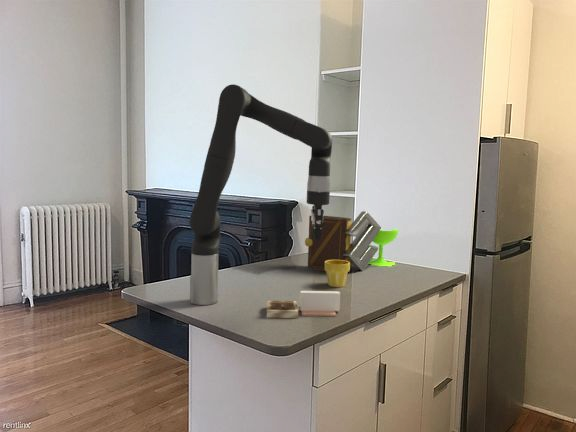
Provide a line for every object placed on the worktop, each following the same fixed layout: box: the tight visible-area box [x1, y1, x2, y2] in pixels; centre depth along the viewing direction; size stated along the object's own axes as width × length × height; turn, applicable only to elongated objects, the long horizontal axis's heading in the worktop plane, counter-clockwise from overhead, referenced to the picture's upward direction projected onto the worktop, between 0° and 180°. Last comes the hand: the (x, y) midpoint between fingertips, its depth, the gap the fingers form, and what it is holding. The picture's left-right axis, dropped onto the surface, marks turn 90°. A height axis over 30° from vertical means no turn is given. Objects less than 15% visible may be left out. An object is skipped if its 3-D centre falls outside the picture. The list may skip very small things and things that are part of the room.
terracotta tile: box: [300, 310, 337, 317], centre depth 164 cm, size 11×10×1 cm
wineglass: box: [369, 228, 399, 267], centre depth 245 cm, size 16×16×18 cm
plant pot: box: [325, 260, 351, 288], centre depth 200 cm, size 10×10×10 cm
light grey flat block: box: [299, 290, 341, 312], centre depth 164 cm, size 6×2×13 cm
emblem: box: [343, 210, 382, 272], centre depth 228 cm, size 28×5×28 cm, turn 141°
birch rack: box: [266, 300, 299, 319], centre depth 161 cm, size 10×11×2 cm
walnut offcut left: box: [270, 300, 282, 310], centre depth 159 cm, size 3×2×4 cm
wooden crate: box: [304, 215, 352, 273], centre depth 228 cm, size 22×8×25 cm, turn 58°
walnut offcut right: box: [283, 300, 294, 310], centre depth 159 cm, size 3×2×4 cm
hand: (316, 238), depth 164 cm, fingers open, 8 cm apart
